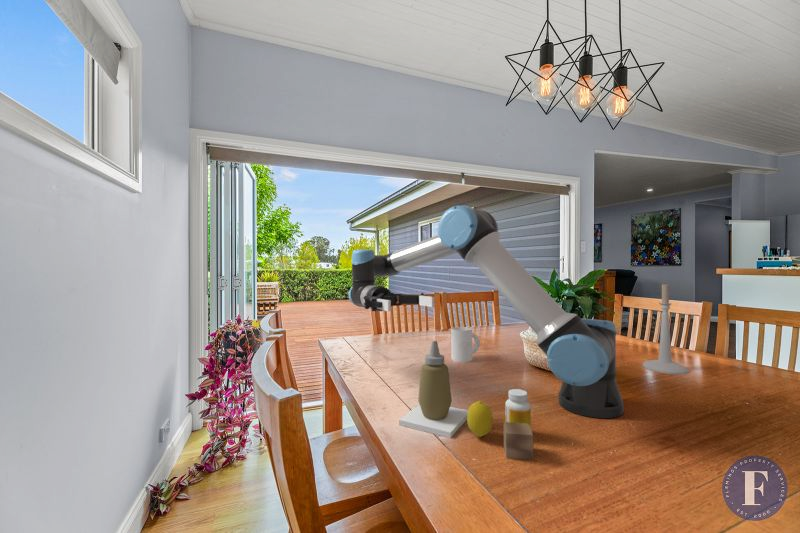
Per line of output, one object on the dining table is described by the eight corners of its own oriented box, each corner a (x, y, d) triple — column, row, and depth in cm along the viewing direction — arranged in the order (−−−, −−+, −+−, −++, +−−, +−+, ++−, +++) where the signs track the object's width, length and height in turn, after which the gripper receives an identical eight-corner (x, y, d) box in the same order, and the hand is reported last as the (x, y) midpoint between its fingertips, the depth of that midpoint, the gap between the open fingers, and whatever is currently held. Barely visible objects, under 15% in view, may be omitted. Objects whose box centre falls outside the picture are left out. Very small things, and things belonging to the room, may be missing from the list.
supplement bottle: (500, 431, 83) (500, 389, 82) (519, 427, 85) (519, 386, 84) (515, 442, 78) (515, 397, 77) (536, 438, 79) (536, 394, 79)
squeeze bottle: (413, 419, 87) (413, 343, 86) (424, 406, 94) (423, 336, 94) (447, 424, 84) (446, 346, 83) (455, 411, 91) (454, 339, 91)
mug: (485, 360, 141) (485, 329, 140) (457, 363, 137) (457, 331, 136) (474, 355, 148) (474, 325, 148) (447, 358, 144) (447, 327, 144)
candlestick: (636, 362, 135) (636, 281, 135) (674, 364, 133) (674, 281, 133) (655, 373, 123) (655, 284, 122) (697, 375, 121) (697, 284, 120)
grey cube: (528, 447, 76) (528, 423, 76) (533, 460, 71) (532, 435, 71) (503, 445, 77) (503, 422, 77) (506, 458, 72) (506, 433, 72)
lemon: (493, 444, 77) (493, 406, 77) (466, 442, 78) (466, 404, 78) (492, 432, 82) (492, 397, 82) (467, 430, 84) (467, 395, 83)
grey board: (470, 415, 91) (470, 410, 91) (450, 437, 80) (450, 432, 80) (423, 405, 98) (423, 401, 98) (398, 424, 86) (398, 419, 86)
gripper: (410, 306, 122) (450, 313, 103) (339, 313, 109) (369, 322, 91) (410, 284, 122) (449, 287, 103) (338, 288, 109) (369, 292, 91)
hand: (412, 303), depth 97 cm, fingers open, 13 cm apart
